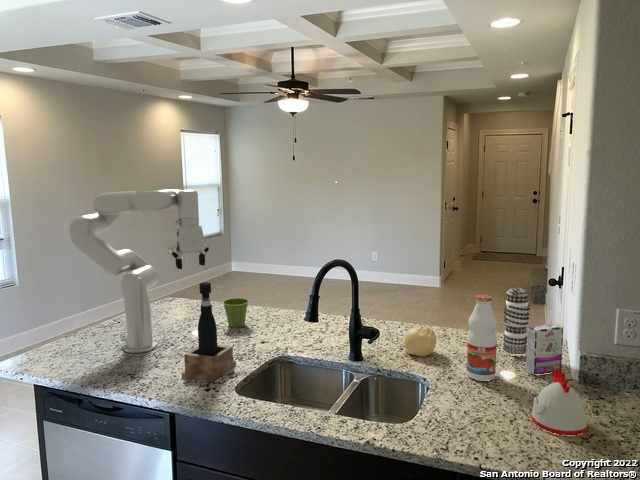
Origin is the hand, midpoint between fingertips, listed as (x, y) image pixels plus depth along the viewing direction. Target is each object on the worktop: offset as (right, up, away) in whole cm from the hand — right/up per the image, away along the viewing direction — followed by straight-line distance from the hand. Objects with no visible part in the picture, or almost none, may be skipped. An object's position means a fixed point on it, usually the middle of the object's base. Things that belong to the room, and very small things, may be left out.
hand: (190, 266), depth 196 cm
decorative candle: (+124, -33, -2) cm, 128 cm away
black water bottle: (+10, -35, -16) cm, 39 cm away
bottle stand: (+11, -36, -16) cm, 41 cm away
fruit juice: (+104, -36, -23) cm, 113 cm away
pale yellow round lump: (+88, -33, -1) cm, 94 cm away
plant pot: (+12, -29, +35) cm, 47 cm away
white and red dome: (+116, -41, -54) cm, 134 cm away
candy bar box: (+127, -36, -19) cm, 133 cm away
